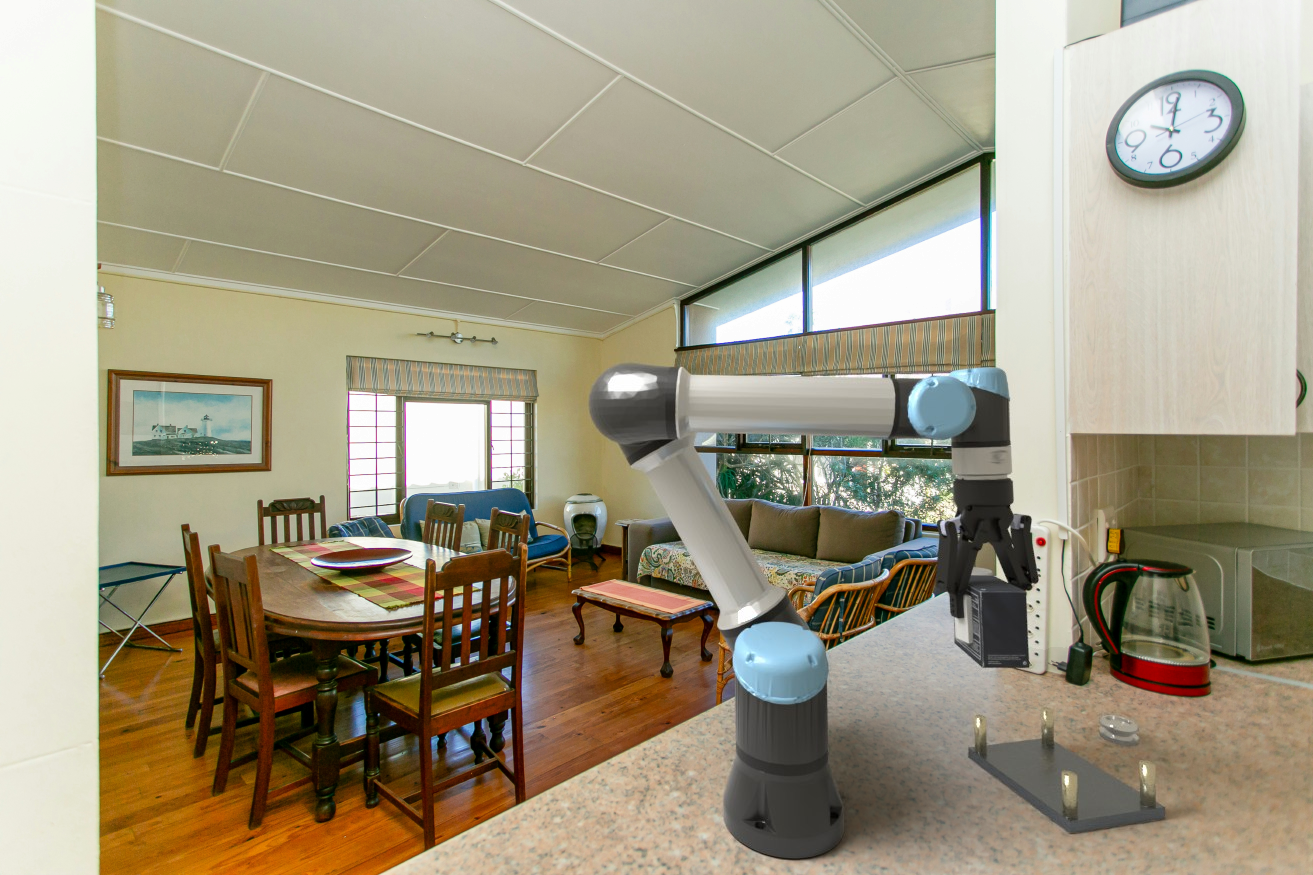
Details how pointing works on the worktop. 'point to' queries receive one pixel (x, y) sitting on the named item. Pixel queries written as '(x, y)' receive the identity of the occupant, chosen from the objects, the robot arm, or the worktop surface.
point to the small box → (997, 624)
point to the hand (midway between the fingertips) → (989, 636)
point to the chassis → (1066, 781)
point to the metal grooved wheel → (1118, 730)
